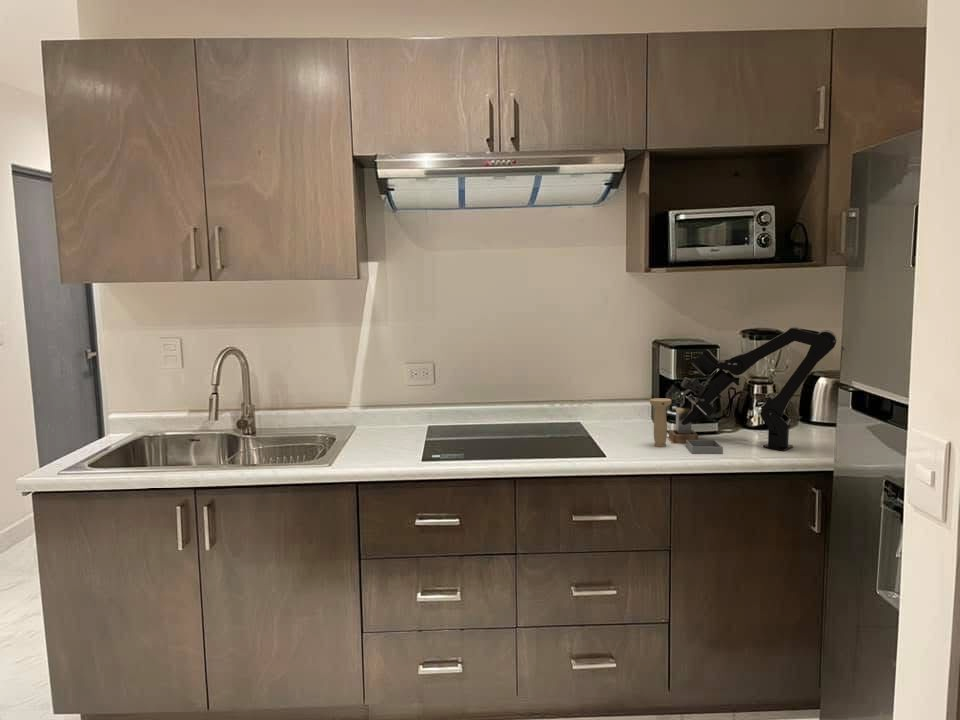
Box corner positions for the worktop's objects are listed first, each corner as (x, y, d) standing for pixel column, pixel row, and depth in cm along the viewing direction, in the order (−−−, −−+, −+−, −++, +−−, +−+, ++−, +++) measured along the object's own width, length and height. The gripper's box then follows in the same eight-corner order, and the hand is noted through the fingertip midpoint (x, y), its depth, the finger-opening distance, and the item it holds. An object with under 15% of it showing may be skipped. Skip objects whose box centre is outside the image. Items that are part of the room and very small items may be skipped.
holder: (694, 438, 218) (694, 429, 218) (701, 445, 209) (701, 435, 209) (666, 438, 219) (666, 429, 219) (671, 445, 210) (671, 435, 210)
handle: (647, 445, 210) (648, 398, 208) (667, 445, 210) (668, 398, 209) (652, 449, 205) (652, 401, 204) (672, 448, 206) (673, 400, 204)
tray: (714, 447, 206) (715, 439, 206) (722, 455, 197) (722, 447, 197) (685, 447, 207) (685, 439, 206) (692, 455, 198) (692, 447, 198)
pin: (688, 438, 216) (688, 408, 215) (691, 441, 212) (691, 410, 211) (675, 438, 216) (676, 408, 215) (678, 441, 212) (678, 410, 211)
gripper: (690, 364, 220) (655, 398, 222) (704, 373, 202) (666, 409, 204) (714, 388, 220) (679, 421, 223) (730, 398, 202) (692, 434, 204)
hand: (679, 420), depth 213 cm, fingers open, 9 cm apart
